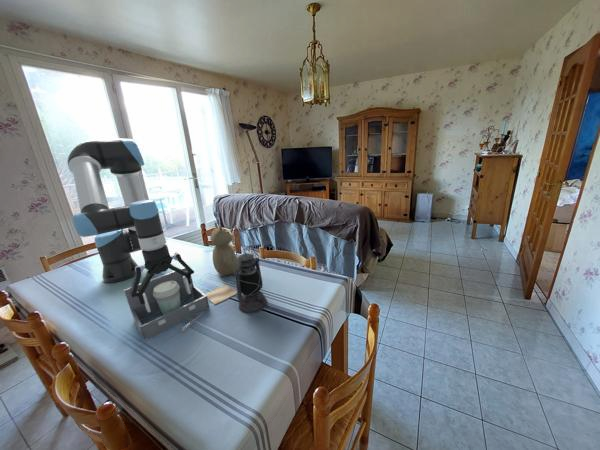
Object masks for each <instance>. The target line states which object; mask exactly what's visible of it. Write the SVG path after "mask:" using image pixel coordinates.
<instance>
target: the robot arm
mask: <svg viewBox="0 0 600 450" xmlns="http://www.w3.org/2000/svg"><path fill="white" fill-rule="evenodd" d="M67 157H68V158H67V166H68V170H69V171H70V172H71V173H72V174H73V178H74V185H75V191H76V196H77V199H78V204H79V206H78V207H79V210H80V212H79V213H76V214H73V215H72V218H71V219H72V224H73V227H74V229H75V231H76V234H77V235H78V237H81V238H87V237H93V236H94V244H95V248H96V249H97V251H98V255H99V258H100V261H101V263H102V277H101V278H102V280H103V282H104V283H107V284H111V283H114V284H115V283H119V282H122V281H125V280H128V279H130V278H133V280H132V285H131V286H130V287H131V291H130V295H131V296H132V297H135V296H138V298H139V301H140V303H141V304H145V307H146V310H147V311H148V312H151V310H150V307H149V304H148V301H147V298H146V295H145V293H144V291H145V290H146V288H147V286H148V284H149V282H150V280H151V279H153V277H155V275H159V274H161V273H163V272H167V271H168V269H170V270H171V271H176V272H178V273H180V274H182V275H184V276H183V281H184V285H185V289H186V292H187V293H188V294H191V292H190V288H189V285H190V284H191V280H190V277H192V275H193V274H194V273H195V270H193V269H192V268H191V266H189V265H188V264H187V262H185V261H184V259H182V256H181V254H180V253H178V252H175V253H174V254H173V255H170V252H169V248H168V244H167V240H166V237H165V232H164V230H163V229H164V228H163V225H162V221H161V216H160V214H159V208H158V206H157V203H156V201H155V200H153V199H146V197H145V194H144V190H143V189H144V188H143V185H142V181H141V177H140V173H141V172H142V170H143V169H142V167H143V166H145V160H144V158H143V155H142V153H141V151H140V148H139V147H138V144H137V143H136V141H135V140H134V139H132V138H111V139H110V138H109V139H107V138H106V139H90V140H86V141H85V140H84V141H83V142H81V143H79V144H77V145H76V146H75V147H74V148H73V149H72V150H71V152H70V153H69V155H68V156H67ZM102 170H109V171H110V173H111V174H112V175H113V176H116V180H117V184H118V186H119V191H120V193H121V196H122V199H123V203H124V206H118V207H112V208H110V207H109V203H108V200H107V196H106V191H105V188H104V185H103V181H102V178H101V174H100V173H101V171H102ZM138 251H141V254H142V257H143V260H144V264H142V265H138V263H137V262H136V261H135V259H133V257H132V254H131V253H135V252H138ZM173 260H174V261H177V262H178V263H180V265H182V266H183V267H185V268H186V269H187V270H188V271H187V272H185V271H183V270H181V268H180V267H177V266H175V265H173V264H172V262H173ZM144 270H147V271H146V275H145V277H144V278H143V280H142V282H140V281H141V278H142V273H144ZM190 275H191V276H190ZM140 283H141V285H140V287H139V289H138V286H139V284H140ZM137 289H138V291H137Z"/></svg>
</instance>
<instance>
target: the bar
mask: <svg viewBox="0 0 600 450" xmlns="http://www.w3.org/2000/svg"><path fill="white" fill-rule="evenodd" d="M203 314H204V312H203V311H199V312H198V313H197V314H195V315H193V316H192V318H191V319H190V320H188V322H187V323H186V324H184V326H182V327H181V329H179V331H178V332H179V333H180V334H184V332H185V331H186V330H188V328H190V327H191V326H192V325H193V324H194V323H196V321H197V320H198V319H199V318H200V317H201V316H202V315H203Z"/></svg>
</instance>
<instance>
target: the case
mask: <svg viewBox="0 0 600 450" xmlns="http://www.w3.org/2000/svg"><path fill="white" fill-rule="evenodd" d="M180 269H181V270H183V271H185V272H187V271H188V270H187V269H186V268H185V267H184V266H183V267H181V268H180ZM183 276H184V275H182V274H180V273H178V272H176V271H174V270H172V271H170V272H168V273H165V274H162V275H160V276H157V277H155V278H152V279H151V280H150V282H149V284H148V286H147V288H146V290H145V291H144V293H145V295H146V298H147V301H148V304H149V307H150V310H151V312H148V311H147V310H146V307H145V304H141V303H140V301H139V298H138V296H135V297H132V296H131V295H130V291H131V287H132V286H130V287H127V288H125V289H123V292H124V295H125V298H126V300H127V303H128V306H129V309H130V312H131V315H132V318H133V320H134V321H133V322H134V323H135V325H136V328H137V330H138V331H139V333H140V335H141V336H142V339H143V341H146V340H148V339H150V338H152V337H153V336H156V335H158V334H160V333H162V332H164V331H166V330H167V329H169V328H172V327H174V326H175V325H177V324H179V323H182V322H184V321H186V320H188V319H189V318H191V317H194V316H195V315H196V314H197V313H198V312H199V311H201V312H203V311H205V310H206V309H208V308H210V305H209V300H208V299H207V296H206V295H205V294H206V293H204V292H203V291H202V290H201V289H199V287H197V286H196V285H195V284H194V282H193V278H192V274H191V275H190V276H191V277H190V280H191V284H190V285H189V288H190V292H191V294H188V293H187V292H186V289H185V285H184V281H183ZM166 281H176V282H177V284H178V285H179V286H180V289H179V293H180V301H181V303H182V302H183V303H184V301H187V300H189V299H195V298H196V299H195V300H193V301H191V302H189V303H186V304H184V305H181V307H180V308H178V309H176V310H173V311H171V312H169V313H167V314H165V315H163V314H162V315H160V316H159V317H157V318H155V319H153V320H151V321H148V322H146V323H144V324H142V322H141V321H144V320H146V319H147V318H150V317H153V316H155V315H157V314H159V313H160V312H161V309H160V307H159V305H158V303H157V301H156V299H155V297H154V296H153V290H154V288H155V287H156V286H157V285H159V284H161V283H163V282H166ZM141 283H142V282H139V286H138V289H139V287H140V285H141ZM138 289H137V291H138ZM161 313H162V312H161Z"/></svg>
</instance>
